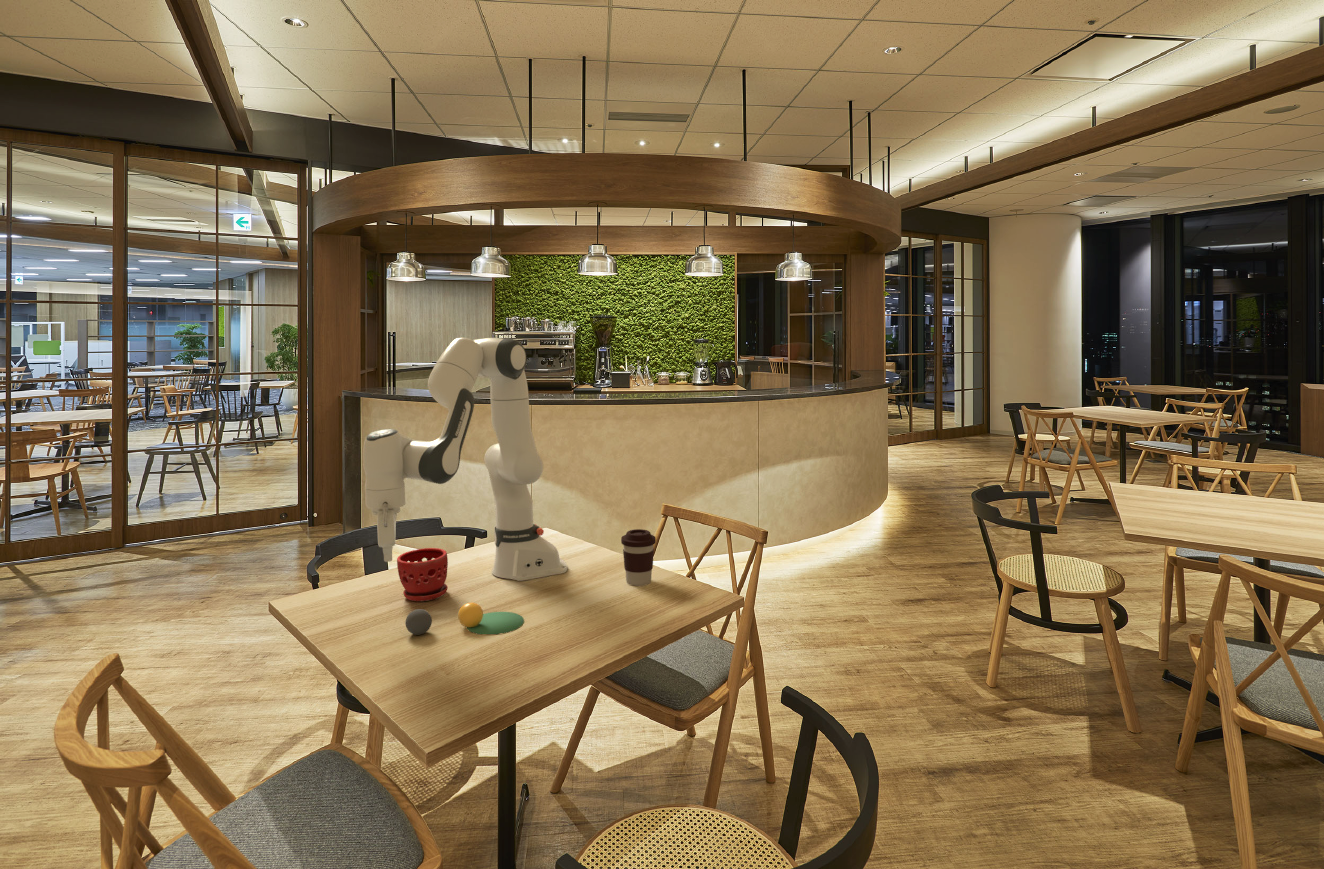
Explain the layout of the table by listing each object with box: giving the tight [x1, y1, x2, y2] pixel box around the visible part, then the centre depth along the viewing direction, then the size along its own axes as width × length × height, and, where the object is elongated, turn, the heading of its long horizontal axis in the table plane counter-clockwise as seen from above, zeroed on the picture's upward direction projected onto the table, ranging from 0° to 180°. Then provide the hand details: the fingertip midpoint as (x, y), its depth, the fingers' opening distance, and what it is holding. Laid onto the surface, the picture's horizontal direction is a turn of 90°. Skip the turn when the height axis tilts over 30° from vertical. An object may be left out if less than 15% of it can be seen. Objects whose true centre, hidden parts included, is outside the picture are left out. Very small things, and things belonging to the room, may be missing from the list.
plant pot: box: [396, 547, 449, 602], centre depth 195 cm, size 13×13×12 cm
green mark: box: [466, 611, 525, 635], centre depth 177 cm, size 14×14×1 cm
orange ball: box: [457, 601, 484, 628], centre depth 175 cm, size 6×6×6 cm
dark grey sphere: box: [404, 608, 433, 636], centre depth 170 cm, size 6×6×6 cm
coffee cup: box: [620, 528, 657, 587], centre depth 206 cm, size 10×10×15 cm
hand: (388, 555), depth 170 cm, fingers open, 8 cm apart
